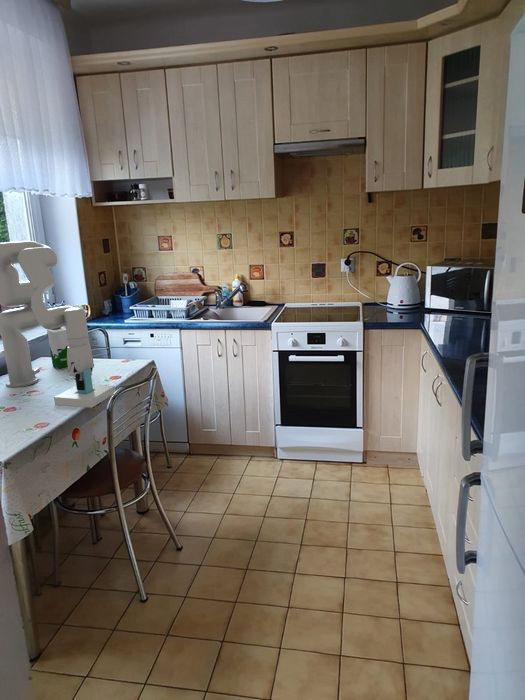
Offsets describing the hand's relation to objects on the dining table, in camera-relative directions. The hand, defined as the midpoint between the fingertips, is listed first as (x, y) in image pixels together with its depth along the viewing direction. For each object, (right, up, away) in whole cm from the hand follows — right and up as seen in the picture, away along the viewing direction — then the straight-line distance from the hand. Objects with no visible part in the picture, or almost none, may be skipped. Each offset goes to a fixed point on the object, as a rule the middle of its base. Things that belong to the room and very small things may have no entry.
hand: (84, 387), depth 202 cm
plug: (0, -3, +1) cm, 3 cm away
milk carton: (-26, +6, +46) cm, 53 cm away
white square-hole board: (+1, -4, +4) cm, 5 cm away
